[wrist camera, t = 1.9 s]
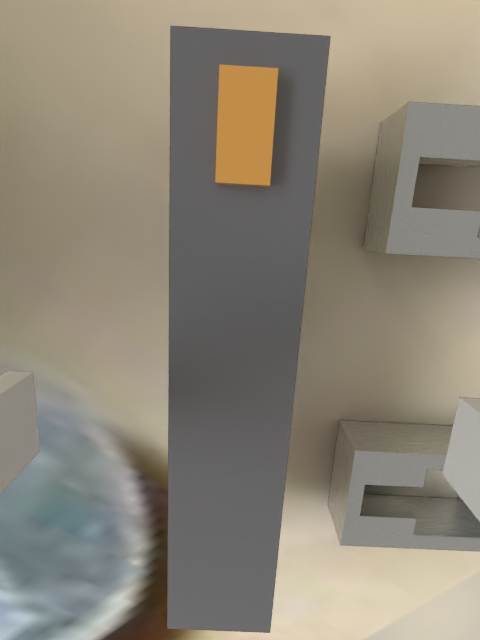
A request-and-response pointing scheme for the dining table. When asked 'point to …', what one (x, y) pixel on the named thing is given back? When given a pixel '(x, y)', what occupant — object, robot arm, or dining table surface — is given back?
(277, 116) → the grey rectangular bar
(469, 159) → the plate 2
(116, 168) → the dining table surface
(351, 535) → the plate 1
